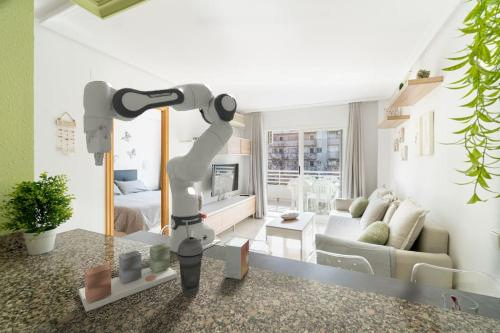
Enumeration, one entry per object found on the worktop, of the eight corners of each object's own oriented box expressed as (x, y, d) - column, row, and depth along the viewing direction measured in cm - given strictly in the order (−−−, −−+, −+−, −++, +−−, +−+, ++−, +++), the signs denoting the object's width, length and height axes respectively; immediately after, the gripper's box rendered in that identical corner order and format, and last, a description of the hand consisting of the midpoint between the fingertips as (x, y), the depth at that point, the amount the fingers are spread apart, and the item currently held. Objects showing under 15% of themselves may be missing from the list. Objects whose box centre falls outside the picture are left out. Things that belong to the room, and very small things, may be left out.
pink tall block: (107, 288, 63) (107, 263, 63) (111, 294, 61) (110, 268, 60) (85, 296, 60) (84, 269, 60) (88, 302, 57) (87, 275, 57)
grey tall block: (136, 272, 73) (136, 250, 72) (141, 277, 70) (141, 254, 69) (119, 277, 69) (119, 254, 69) (123, 283, 66) (123, 259, 66)
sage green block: (164, 263, 79) (164, 243, 79) (169, 267, 76) (169, 246, 76) (149, 268, 75) (149, 247, 75) (154, 272, 72) (154, 250, 72)
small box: (241, 280, 72) (241, 247, 72) (224, 277, 74) (224, 244, 74) (249, 269, 80) (249, 238, 79) (234, 266, 82) (234, 237, 81)
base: (163, 266, 81) (163, 261, 81) (177, 277, 74) (177, 271, 73) (79, 294, 64) (79, 288, 64) (86, 311, 57) (85, 304, 57)
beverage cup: (196, 301, 61) (197, 226, 61) (171, 297, 63) (171, 225, 62) (207, 286, 69) (207, 219, 68) (184, 283, 70) (184, 218, 69)
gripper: (116, 125, 78) (116, 166, 78) (102, 130, 92) (102, 165, 93) (94, 123, 73) (94, 166, 74) (82, 129, 88) (83, 165, 88)
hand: (98, 165), depth 83 cm, fingers closed
